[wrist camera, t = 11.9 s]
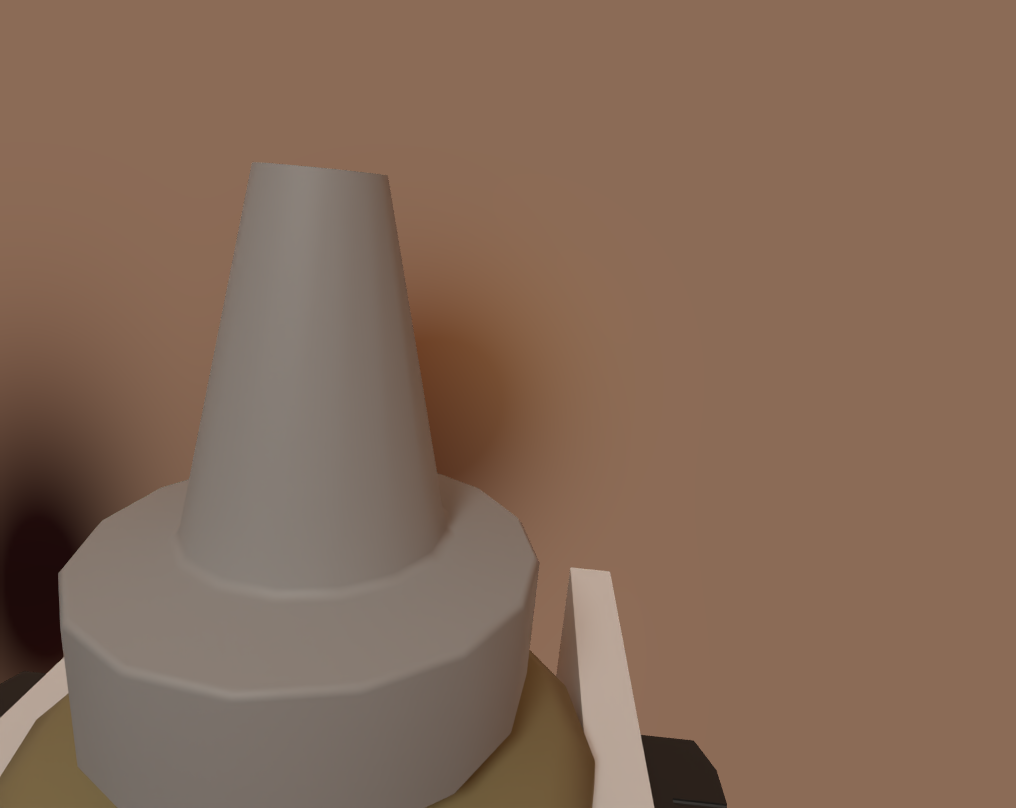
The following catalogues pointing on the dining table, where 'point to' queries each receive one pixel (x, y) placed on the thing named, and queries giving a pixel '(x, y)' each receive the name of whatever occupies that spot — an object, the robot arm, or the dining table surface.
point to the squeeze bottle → (307, 570)
